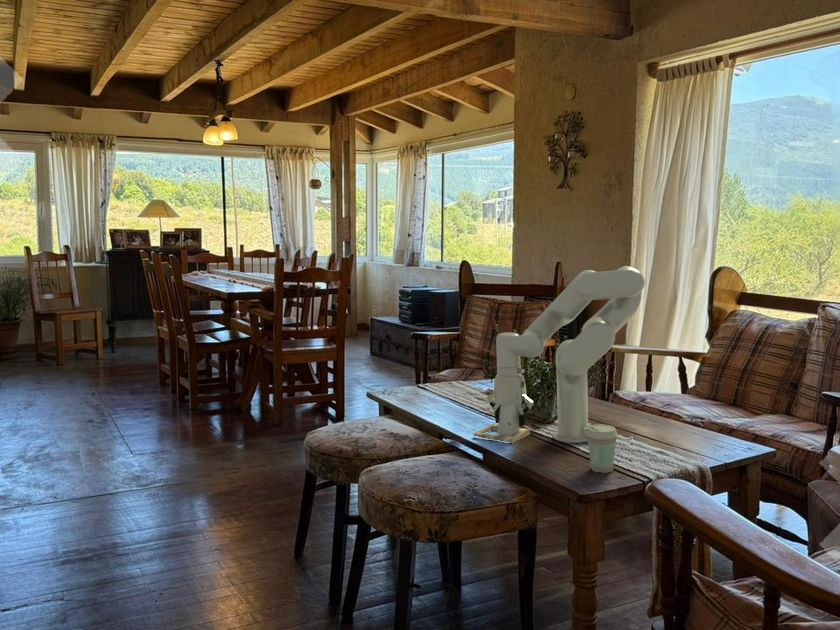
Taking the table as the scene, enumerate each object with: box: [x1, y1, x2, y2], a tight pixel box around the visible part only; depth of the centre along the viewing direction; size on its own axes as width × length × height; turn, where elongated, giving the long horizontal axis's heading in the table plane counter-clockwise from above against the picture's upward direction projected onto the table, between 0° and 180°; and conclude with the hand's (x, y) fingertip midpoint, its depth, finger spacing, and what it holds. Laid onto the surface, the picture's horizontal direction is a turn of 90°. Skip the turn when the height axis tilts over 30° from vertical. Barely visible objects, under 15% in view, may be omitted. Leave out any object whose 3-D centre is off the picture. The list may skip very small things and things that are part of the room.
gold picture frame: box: [473, 423, 531, 443], centre depth 237 cm, size 14×12×2 cm
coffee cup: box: [586, 423, 619, 474], centre depth 202 cm, size 8×8×12 cm
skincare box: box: [497, 403, 522, 437], centre depth 235 cm, size 6×4×12 cm
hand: (510, 423), depth 235 cm, fingers open, 8 cm apart
